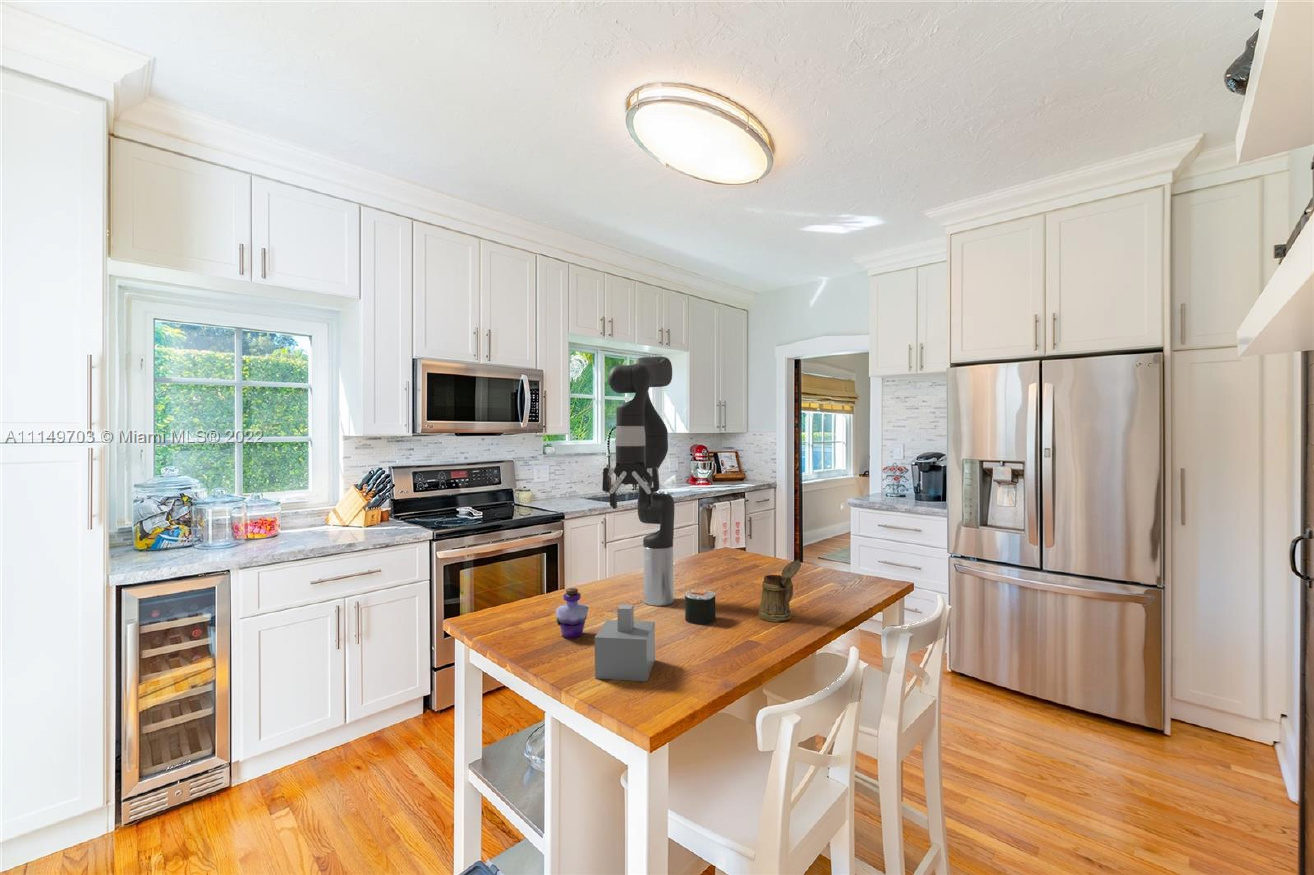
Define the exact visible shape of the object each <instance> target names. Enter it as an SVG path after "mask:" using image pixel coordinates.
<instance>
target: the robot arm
mask: <svg viewBox="0 0 1314 875" xmlns="http://www.w3.org/2000/svg"><path fill="white" fill-rule="evenodd" d="M672 379H673V365H672V362H671V360H670V358H668V357H666V356H644V357H639V358H637V359H636V361H635V363H634V364H624V365H615V366H613V367H612V368H611V369H610V371H609V374H608V379H607V382H608V385H609V388H610V389H611V390H612V391H613V392H614V393H616V394H634V397H633V398H632V399H631V400H629V401H625V402H621V403H619V404H617V406H616V410H615V412H616V414H615V416H616V418H615V419H616V421H615V422H616V424H615V426H616V427H615V428H616V429H615V430H616V431H615V440H614V444H615V467H609V466H607V467H604V468H603V469H602V486H601V487H602V489H601V490H602V492H607V493H608V494H609V506H610V507H612V510H616V509H617V508H618V493H617V491H618V489H619V488H620V487H621V486H622V484H623V485H624V486H625V485H632V486H637V485H638V488H637V516H638V520H639V521H640V523H643V524H650V525H651V524H653V525H660V526H659V530H657V531H655V532H654V533H650V534H647V535H645V536H643V539H642V542H643V543H642V546H643V547H642V548H643V556H642V557H643V558H642V559H643V562H642V563H643V603H644V604H645V605H649V606H657V607H660V606H666V605H670V604H671V605H672V604H673V603H674V600H675V599H674V598H675V596H674V591H675V590H674V586H675V585H674V534H675V532H674V529H675V510H676V509H675V500H674V498H673V496H672V495H671V494H669V493H667V494H666V493H656V492H658V491H660V479H659V478H660V473H659V470H660V467H661V465H662V464H663V462H664V460H665V458H666V456H667V454H668V451H669V440H668V438H669V434H668V433H669V431H668V428H667V426H666V424H665V421H664V420H663V419H662V417H661V415H660V414H659V413H658V412H657V410H656V408H655V407H654V405H653V402H652V401H651V398H650V395H649V389H650V388H663V387H667V386H669V385H670V384H671V382H672ZM613 474H615V477H617V479H616V480H615V482H614V483H613V485H612V486H610V479H611V478H610V477H611V476H613Z"/></svg>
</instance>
